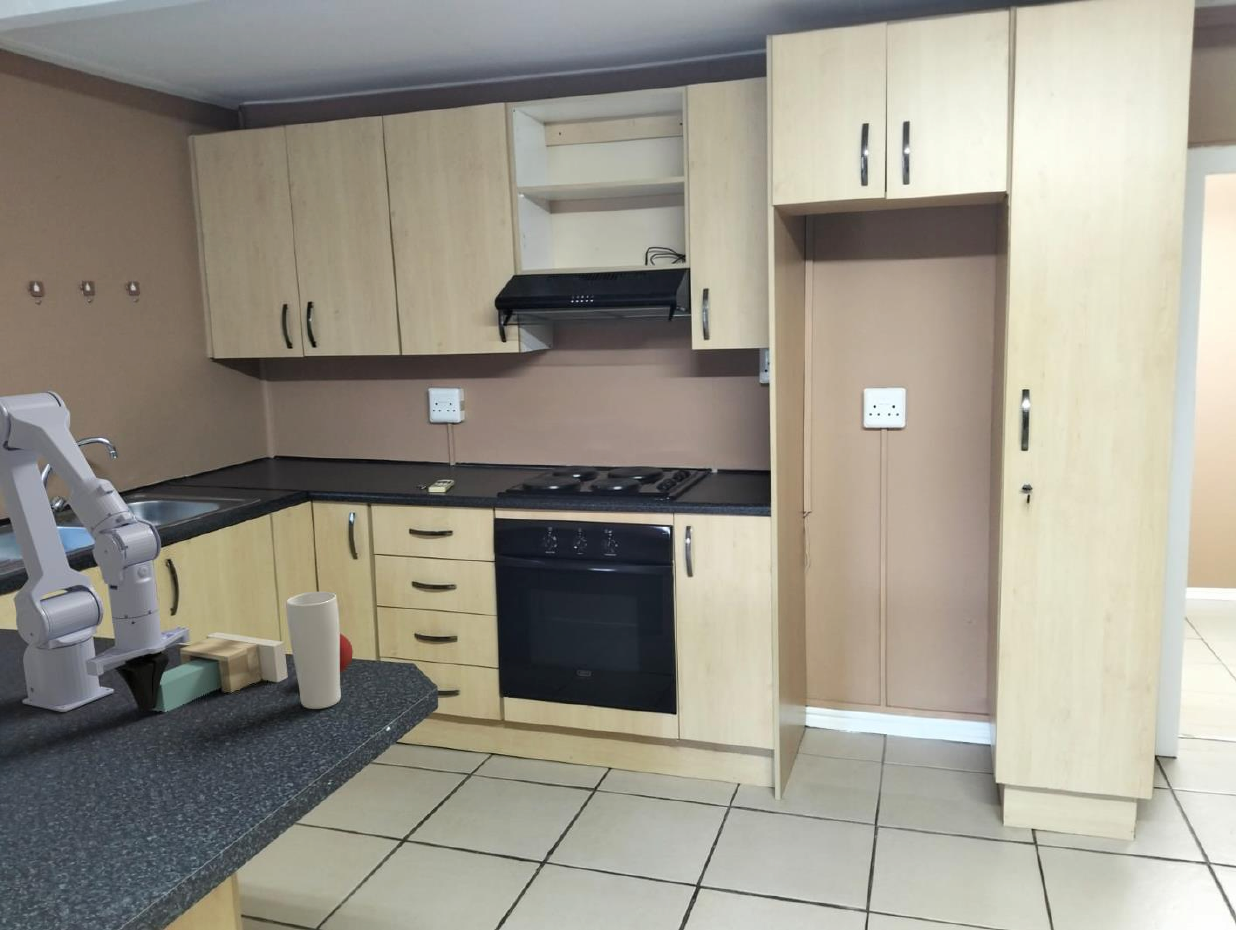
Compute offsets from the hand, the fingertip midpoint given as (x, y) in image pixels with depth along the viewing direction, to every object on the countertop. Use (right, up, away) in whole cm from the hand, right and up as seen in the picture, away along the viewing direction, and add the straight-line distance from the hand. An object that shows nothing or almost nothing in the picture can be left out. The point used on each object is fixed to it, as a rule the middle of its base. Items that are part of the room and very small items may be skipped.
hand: (147, 708), depth 136 cm
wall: (+8, +2, +14) cm, 17 cm away
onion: (+22, +1, +11) cm, 25 cm away
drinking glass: (+23, 0, +2) cm, 23 cm away
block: (+6, +1, +11) cm, 13 cm away
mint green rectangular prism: (+3, 0, +7) cm, 8 cm away
